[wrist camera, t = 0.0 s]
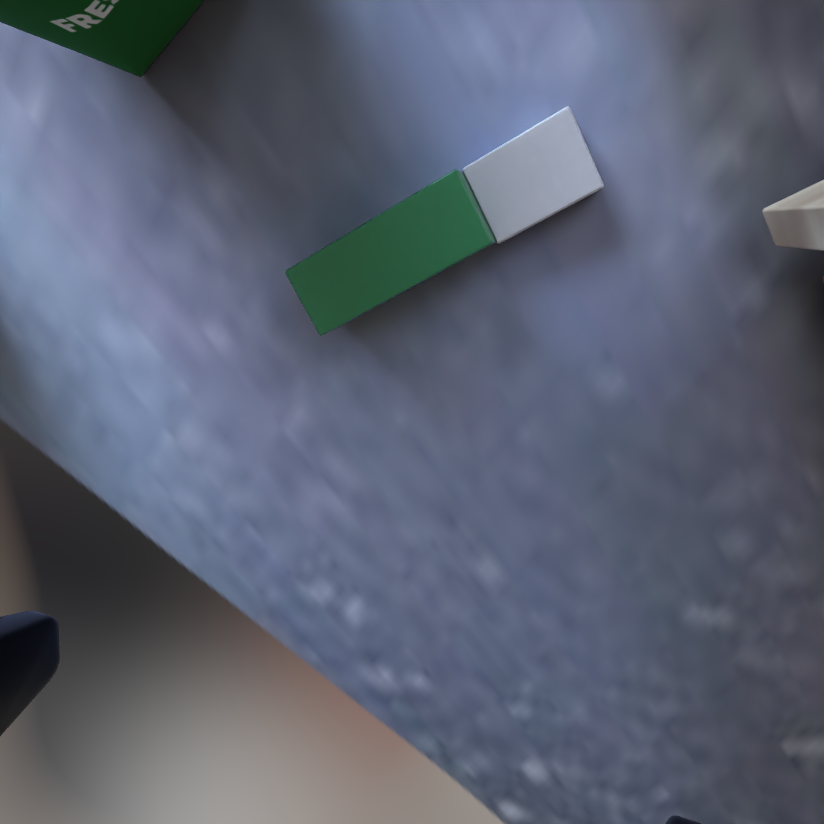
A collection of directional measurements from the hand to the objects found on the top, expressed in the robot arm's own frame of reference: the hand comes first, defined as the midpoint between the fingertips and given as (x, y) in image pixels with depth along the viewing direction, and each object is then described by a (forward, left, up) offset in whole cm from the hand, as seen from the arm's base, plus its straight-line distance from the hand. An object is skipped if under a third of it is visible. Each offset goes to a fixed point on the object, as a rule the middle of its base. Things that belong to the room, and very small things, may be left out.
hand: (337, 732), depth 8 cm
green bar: (-6, -2, -15) cm, 16 cm away
